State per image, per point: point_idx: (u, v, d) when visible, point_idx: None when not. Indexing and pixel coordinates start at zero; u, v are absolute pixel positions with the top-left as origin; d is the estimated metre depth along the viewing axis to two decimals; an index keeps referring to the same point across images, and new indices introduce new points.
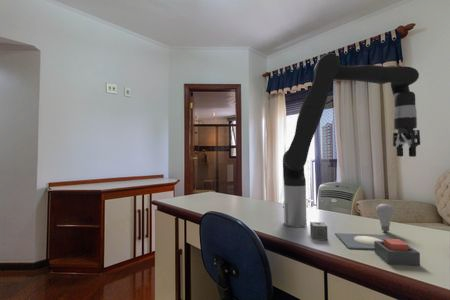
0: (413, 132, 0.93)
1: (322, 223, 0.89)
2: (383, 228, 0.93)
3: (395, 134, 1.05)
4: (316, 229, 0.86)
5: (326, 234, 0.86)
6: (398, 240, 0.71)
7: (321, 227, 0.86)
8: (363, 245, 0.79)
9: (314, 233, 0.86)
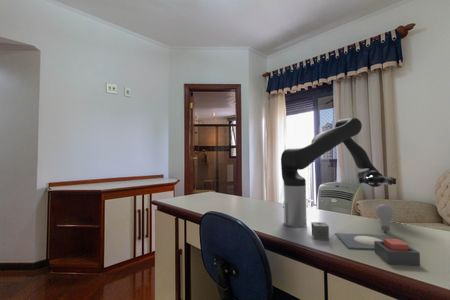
0: None
1: (323, 223, 0.89)
2: (383, 228, 0.93)
3: None
4: (317, 229, 0.86)
5: (327, 234, 0.86)
6: (398, 240, 0.71)
7: (322, 227, 0.86)
8: (363, 245, 0.79)
9: (315, 233, 0.86)
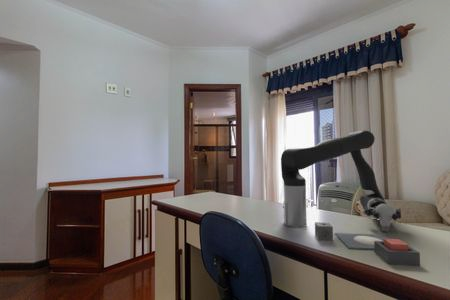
0: (400, 210, 0.97)
1: (327, 223, 0.89)
2: (383, 228, 0.93)
3: None
4: (321, 229, 0.86)
5: (331, 234, 0.85)
6: (398, 240, 0.71)
7: (326, 227, 0.85)
8: (363, 245, 0.79)
9: (319, 233, 0.86)
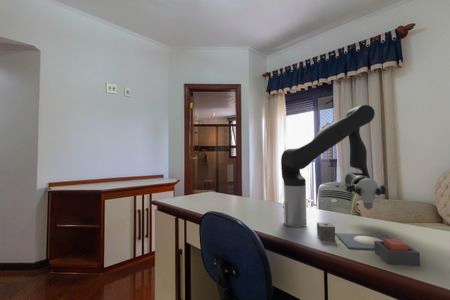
0: (385, 186, 0.87)
1: (329, 223, 0.88)
2: (366, 205, 0.83)
3: None
4: (323, 230, 0.85)
5: (334, 235, 0.85)
6: (398, 240, 0.71)
7: (329, 228, 0.85)
8: (363, 245, 0.79)
9: (321, 234, 0.86)
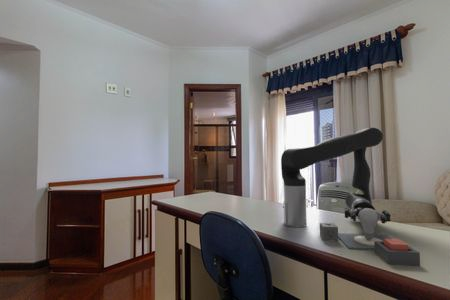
0: (386, 212, 0.87)
1: (332, 224, 0.88)
2: (366, 236, 0.83)
3: (347, 209, 0.93)
4: (326, 230, 0.85)
5: (337, 235, 0.85)
6: (398, 240, 0.71)
7: (331, 228, 0.85)
8: (363, 245, 0.79)
9: (324, 234, 0.85)
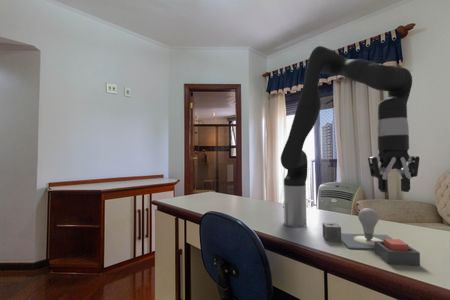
0: (369, 160, 0.71)
1: (335, 224, 0.88)
2: (366, 236, 0.83)
3: None
4: (329, 230, 0.85)
5: (340, 235, 0.84)
6: (398, 240, 0.71)
7: (335, 228, 0.85)
8: (363, 245, 0.79)
9: (327, 234, 0.85)
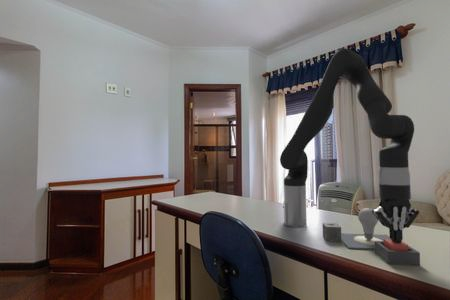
0: (373, 213, 0.71)
1: (335, 224, 0.88)
2: (366, 236, 0.83)
3: None
4: (330, 230, 0.85)
5: (340, 235, 0.84)
6: None
7: (335, 228, 0.85)
8: (363, 245, 0.79)
9: (328, 234, 0.85)
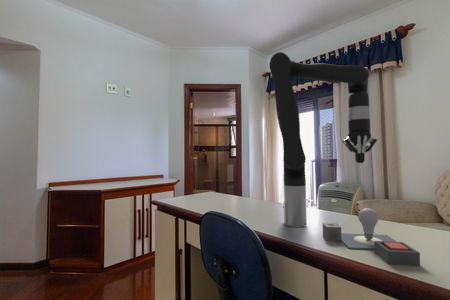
0: (343, 142, 0.95)
1: (335, 224, 0.88)
2: (366, 236, 0.83)
3: None
4: (330, 230, 0.85)
5: (340, 235, 0.84)
6: (398, 244, 0.71)
7: (335, 228, 0.84)
8: (363, 245, 0.79)
9: (328, 234, 0.85)
